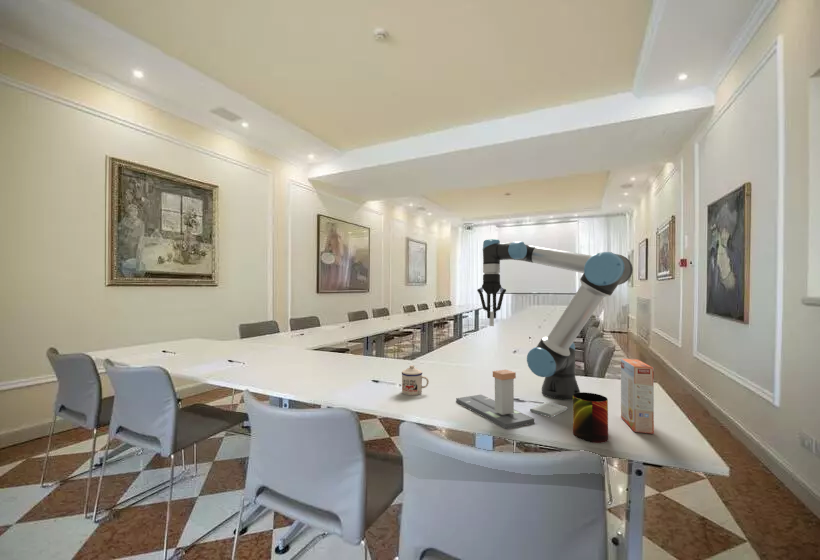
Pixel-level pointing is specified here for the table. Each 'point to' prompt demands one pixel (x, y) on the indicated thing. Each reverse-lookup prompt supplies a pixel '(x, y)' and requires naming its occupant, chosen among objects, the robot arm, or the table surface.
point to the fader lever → (504, 391)
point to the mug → (590, 417)
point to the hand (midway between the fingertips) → (491, 325)
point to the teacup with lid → (412, 381)
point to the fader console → (487, 410)
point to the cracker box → (637, 395)
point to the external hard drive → (548, 409)
